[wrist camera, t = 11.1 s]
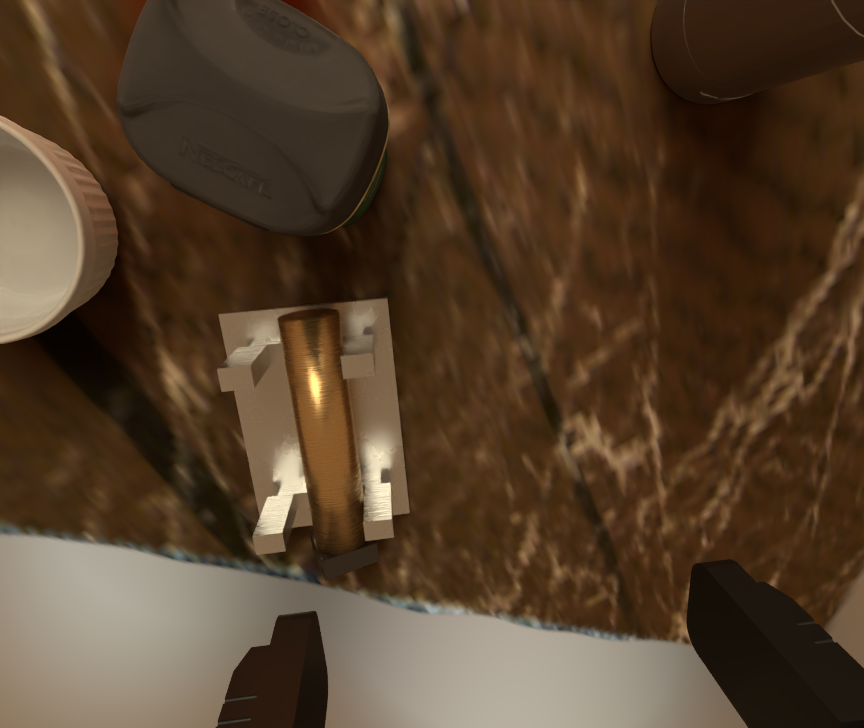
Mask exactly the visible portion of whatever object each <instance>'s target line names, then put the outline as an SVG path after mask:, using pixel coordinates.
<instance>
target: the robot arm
mask: <svg viewBox="0 0 864 728" xmlns="http://www.w3.org/2000/svg"><path fill="white" fill-rule="evenodd" d="M651 43H652V50H653V57H654V60H655V63H656V66H657V69H658V72H659V73H660V75H661V77H662V78H663V80H664V82H665V83H666V84H667V85H668V86H669V88H670V89H671V90H672V91H673V92H674V93H676V94H677V95H679V96H680V97H682V98H683V99H685V100H688V101H691V102H694V103H697V104H716V103H722V102H726V101H729V100H734V99H737V98H742V97H745V96H748V95H751V94H753V93H756V92H759V91H763V90H767V89H770V88H773V87H777V86H780V85H783V84H787V83H790V82H793V81H796V80H800V79H803V78H806V77H810V76H813V75H816V74H820V73H823V72H826V71H830V70H833V69H836V68H840V67H843V66H846V65H850V64H853V63H856V62H860V61H863V60H864V0H659V2H658V4H657V7H656V10H655V14H654V19H653V23H652V37H651ZM687 630H688V634H689V637H690V640H691V643H692V645H693V647H694V649H695V651H696V652H697V654H698V655H699V657H700V658H701V660H702V661H703V663H704V664H705V665H706V667H707V669H708V670H709V671H710V673H711V674H712V676H713V677H714V679H715V680H716V682H717V683H718V685H719V686H720V687H721V689H722V690H723V692H724V693H725V695H726V696H727V697H728V699H729V700H730V702H731V703H732V705H733V706H734V708H735V709H736V711H737V712H738V713H739V715H740V716H741V718H742V719H743V721H744V722H745V723H746V725H747V727H748V728H864V668H863V667H862V666H861V665H860V664H859V663H857V661H856V660H854V659H853V658H852V657H851V656H850V655H849V654H848V653H847V652H846V651H845V650H844V649H843V648H842V647H841V646H840V645H839V644H838V643H837V642H836V643H834V641H833V640H832V637H831V636H830V635H829V634H828V633H827V632H826V631H825V630H824V629H823V628H822V627H821V626H820V625H819V624H815V622H814V619H813V618H812V617H811V616H810V615H809V614H808V613H806V612H805V611H804V610H803V609H802V608H801V607H800V606H799V605H798V604H797V603H796V602H795V601H794V600H793V599H792V598H790V597H789V596H787V595H785V594H784V593H782V592H780V591H779V590H777V589H775V588H774V587H772V586H771V585H769V584H767V583H766V582H759V583H757V582H756V581H755V580H754V579H753V578H752V577H751V576H750V575H749V574H748V573H747V572H746V571H745V570H744V569H743V568H742V567H741V566H740V565H739V564H738V563H737V562H735V561H733V560H730V559H728V560H720V561H712V562H704V563H697V564H695V565H693V567H692V570H691V578H690V588H689V599H688V609H687ZM327 701H328V674H327V666H326V660H325V654H324V649H323V643H322V637H321V632H320V626H319V621H318V616H317V613H316V611H310V612H302V613H295V614H286V615H279V616H278V618H277V620H276V623H275V627H274V631H273V635H272V639H271V643H270V645H266V646H258V647H251V649H250V650H249V651H248V653H247V654H246V655H245V657H244V658H243V659H242V661H241V662H240V663H239V665H238V666H237V667H236V669H235V670H234V672H233V675H232V678H231V681H230V684H229V687H228V690H227V693H226V697H225V704H223V706H222V709H221V712H220V716H219V719H218V726H217V727H216V728H325V720H326V711H327Z"/></svg>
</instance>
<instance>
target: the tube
mask: <svg viewBox="0 0 864 728" xmlns="http://www.w3.org/2000/svg"><path fill="white" fill-rule="evenodd" d="M278 325H279V331H280V337H281V343H282V349H283V355H284V360H285V366H286V372H287V378H288V384H289V390H290V395H291V401H292V407H293V413H294V419H295V425H296V431H297V436H298V442H299V448H300V454H301V460H302V466H303V472H304V477H305V483H306V489H307V495H308V501H309V507H310V512H311V518H312V524H313V531H310V535H311V541H312V547H313V550H314V553H315V555H316V558H317V560H318V563H319V565H320V568H321V570H322V573H323V575H324V578H325V580H328V579H331V578H334V577H337V576H339V575H342V574H345V573H348V572H350V571H353V570H356V569H359V568H362V567H364V566H367V565H370V564H373V563H375V562H378V561H379V555H378V547H377V542H376V541H375V540H370V541H365V534H364V526H363V513H364V493H363V486H362V478H361V471H360V463H359V456H358V448H357V441H356V434H355V426H354V419H353V411H352V404H351V396H350V389H349V381H348V379H343V373H342V365H341V358H340V355H341V352H342V348H343V336H342V329H341V322H340V314H339V311H338V310H336V309H328V308H322V309H309V310H301V311H296V312H291V313H288V314H284V315H282V316H280V317H278Z"/></svg>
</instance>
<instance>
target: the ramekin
mask: <svg viewBox="0 0 864 728" xmlns="http://www.w3.org/2000/svg"><path fill="white" fill-rule="evenodd" d="M117 247H118V230H117V227H116V219H115V217H114V214H113V209H112V207H111V205H110V204H109V202H108V198H107V195H106V194H105V193H104V192H103V191H102V188H101V185H100V184H99V183H98V182H97V181H96V180H95V179H94V177H93V175H92V173H91V172H89V171H88V170H87V169H86V168H85V167H84V165H83V164H82V163H81V162H80V161H79V160H77V159H75V158H74V157H73V156H72V155H71V154H70V153H69V152H67V151H66V150H63V149H62V148H60V147H59V146H58V145H57V144H55V143H53V142H51V141H49V140H47V139H45V138H43V137H41V136H39V135H37V134H35V133H33V132H31V131H28V130H26V129H24V128H22V127H20V126H19V125H17V124H15V123H14V122H12V121H10V120H8V119H6V118H4V117H2V116H0V344H4V343H9V342H14V341H18V340H21V339H25V338H28V337H31V336H34V335H36V334H39V333H41V332H43V331H45V330H47V329H49V328H51V327H52V326H54V325H55V324H57V323H58V322H60V321H61V320H62V319H63V318H64V317H66V316H67V315H68V314H69V313H70V312H71V311H73V310H75V309H76V308H78V307H80V306H81V305H83V304H84V303H86V302H87V301H89V300H90V299H91V298H92V297H93V296H94V295H96V294H97V293H98V291H99V290H100V288H101V287H102V286H103V285H104V284H105V281H106V279H107V278H109V276H110V274H111V270H112V268H113V267H114V265H115V258H116V256H117Z"/></svg>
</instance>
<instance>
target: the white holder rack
mask: <svg viewBox="0 0 864 728" xmlns="http://www.w3.org/2000/svg"><path fill="white" fill-rule="evenodd" d="M322 308H328V309H336V310H338V311H339V314H340V322H341V329H342V336H343V348H342V352H341V355H340V358H341V365H342V373H343V379H348V381H349V389H350V396H351V404H352V411H353V419H354V426H355V434H356V441H357V448H358V456H359V463H360V471H361V478H362V486H363V493H364V513H363V526H364V534H365V541H370V540H378V539H386V538H394V525H393V515H399V514H407V513H410V511H409V501H408V491H407V482H406V472H405V463H404V453H403V444H402V434H401V424H400V415H399V405H398V396H397V386H396V377H395V367H394V358H393V348H392V338H391V329H390V319H389V310H388V300H387V297H378V298H367V299H356V300H346V301H335V302H325V303H314V304H303V305H293V306H282V307H271V308H261V309H250V310H240V311H229V312H221V313H220V314H218V315H219V320H220V324H221V329H222V334H223V339H224V344H225V349H226V354H227V359H226V360H225V361H224V362H223V363H222V364H221V365H220V366H219V367H218V368H217V372H218V377H219V381H220V386H221V391H222V392H225V391H234V393H235V398H236V403H237V407H238V412H239V417H240V422H241V427H242V432H243V437H244V442H245V447H246V451H247V456H248V461H249V466H250V471H251V476H252V481H253V486H254V490H255V495H256V500H257V505H258V510H259V515H260V518H259V521H258V523H257V526H256V528H255V531H254V534H253V536H252V537H253V541H254V546H255V551H256V555H260V554H268V553H275V552H283V551H286V549H287V545H288V541H289V537H290V534H291V530H292V528H293V527H302V526H310V525H313V524H312V518H311V512H310V507H309V501H308V495H307V489H306V483H305V477H304V472H303V466H302V460H301V454H300V448H299V442H298V436H297V431H296V425H295V419H294V413H293V407H292V401H291V395H290V390H289V384H288V378H287V372H286V366H285V360H284V355H283V349H282V343H281V337H280V331H279V325H278V317H280V316H282V315H284V314H288V313H291V312H296V311H301V310H309V309H322Z"/></svg>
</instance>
